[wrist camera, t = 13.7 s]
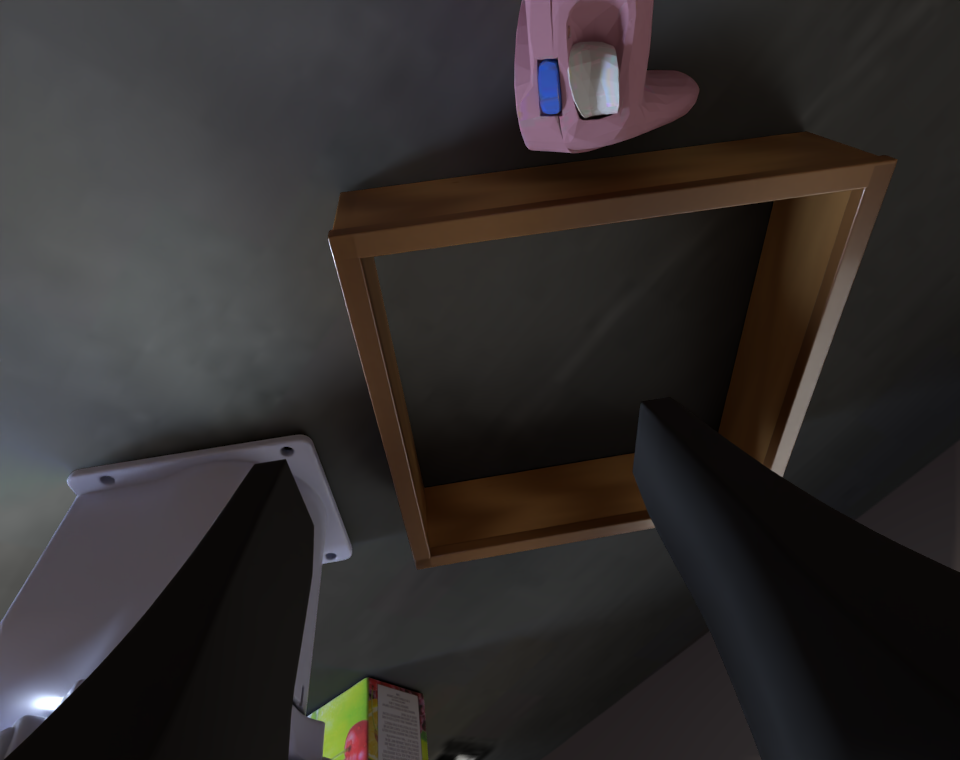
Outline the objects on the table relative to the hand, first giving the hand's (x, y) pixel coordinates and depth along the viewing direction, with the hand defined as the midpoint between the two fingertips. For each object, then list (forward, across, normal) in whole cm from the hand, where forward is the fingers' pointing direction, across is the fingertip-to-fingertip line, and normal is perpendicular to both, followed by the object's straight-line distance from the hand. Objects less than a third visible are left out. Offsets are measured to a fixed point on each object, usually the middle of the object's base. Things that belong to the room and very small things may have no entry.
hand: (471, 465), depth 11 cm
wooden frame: (+9, -5, +4) cm, 11 cm away
